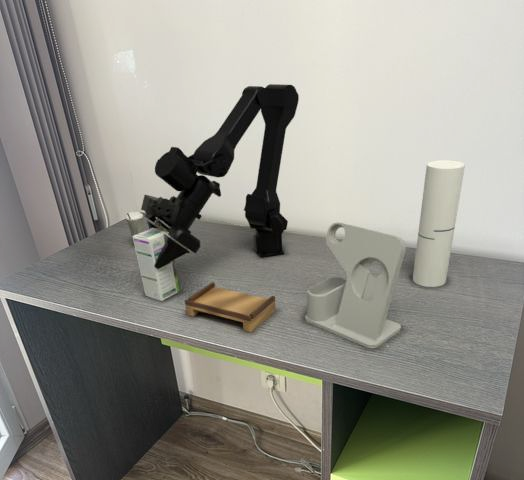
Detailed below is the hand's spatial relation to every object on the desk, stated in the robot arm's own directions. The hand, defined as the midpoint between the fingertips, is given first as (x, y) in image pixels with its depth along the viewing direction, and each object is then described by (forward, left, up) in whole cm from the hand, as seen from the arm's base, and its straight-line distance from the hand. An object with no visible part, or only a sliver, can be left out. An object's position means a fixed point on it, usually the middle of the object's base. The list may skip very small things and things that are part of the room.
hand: (150, 262), depth 108 cm
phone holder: (-36, +27, -8) cm, 45 cm away
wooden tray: (-14, +14, -8) cm, 22 cm away
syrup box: (-1, 0, -8) cm, 8 cm away
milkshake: (+2, -34, -8) cm, 35 cm away
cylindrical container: (-60, +15, -8) cm, 62 cm away
